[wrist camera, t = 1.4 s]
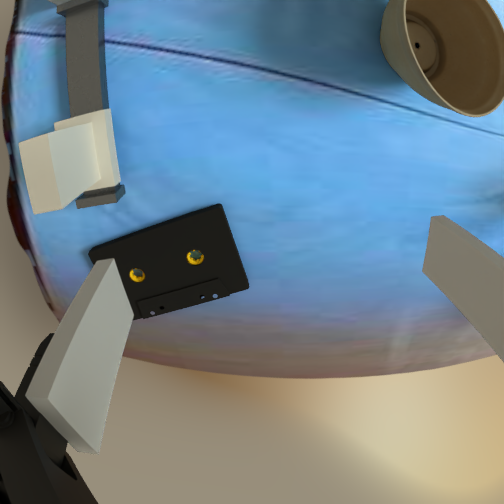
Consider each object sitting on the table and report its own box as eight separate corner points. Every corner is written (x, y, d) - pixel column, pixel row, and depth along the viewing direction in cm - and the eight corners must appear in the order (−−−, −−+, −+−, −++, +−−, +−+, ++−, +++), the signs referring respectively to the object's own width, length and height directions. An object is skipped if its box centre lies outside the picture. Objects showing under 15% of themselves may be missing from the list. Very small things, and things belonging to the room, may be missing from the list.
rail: (69, 12, 22) (56, 5, 19) (108, -1, 22) (97, -10, 19) (88, 198, 33) (77, 208, 30) (125, 192, 33) (116, 202, 30)
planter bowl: (355, 98, 31) (406, 101, 21) (350, -21, 23) (394, -52, 14) (454, 115, 32) (511, 129, 23) (452, 12, 25) (505, 4, 15)
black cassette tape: (130, 313, 42) (127, 323, 40) (92, 246, 36) (86, 254, 35) (248, 280, 41) (250, 289, 39) (221, 201, 36) (221, 207, 34)
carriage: (62, 121, 26) (3, 135, 17) (110, 108, 27) (62, 115, 17) (74, 189, 30) (24, 228, 20) (120, 180, 30) (81, 218, 21)
